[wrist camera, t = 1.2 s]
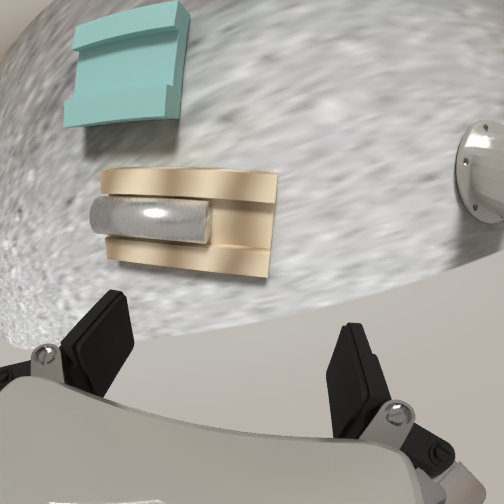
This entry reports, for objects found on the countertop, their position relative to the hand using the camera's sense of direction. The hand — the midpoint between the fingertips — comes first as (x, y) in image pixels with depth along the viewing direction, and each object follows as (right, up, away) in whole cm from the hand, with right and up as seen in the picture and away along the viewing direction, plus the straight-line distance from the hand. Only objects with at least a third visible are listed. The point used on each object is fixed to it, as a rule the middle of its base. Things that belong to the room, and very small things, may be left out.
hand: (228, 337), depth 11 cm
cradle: (-12, +23, +12) cm, 28 cm away
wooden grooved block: (-6, +7, +17) cm, 20 cm away
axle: (-9, +7, +17) cm, 20 cm away
